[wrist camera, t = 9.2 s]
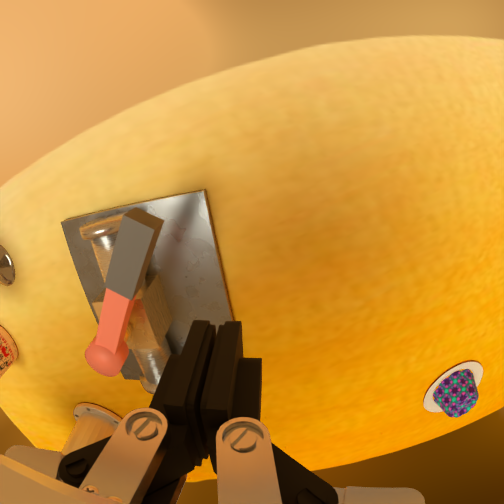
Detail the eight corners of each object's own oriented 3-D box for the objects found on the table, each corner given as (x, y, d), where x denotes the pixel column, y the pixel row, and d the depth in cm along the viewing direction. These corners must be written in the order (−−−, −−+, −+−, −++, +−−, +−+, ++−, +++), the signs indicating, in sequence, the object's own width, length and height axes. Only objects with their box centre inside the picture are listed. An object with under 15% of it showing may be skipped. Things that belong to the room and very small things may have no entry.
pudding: (458, 407, 42) (468, 426, 38) (410, 410, 42) (419, 433, 37) (491, 358, 38) (505, 377, 33) (444, 358, 38) (458, 381, 33)
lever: (125, 365, 27) (116, 382, 25) (93, 349, 27) (83, 364, 24) (172, 223, 21) (162, 234, 19) (129, 203, 21) (114, 211, 19)
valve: (246, 372, 39) (240, 430, 30) (127, 374, 41) (103, 422, 32) (205, 189, 30) (179, 214, 21) (65, 219, 32) (14, 249, 23)
